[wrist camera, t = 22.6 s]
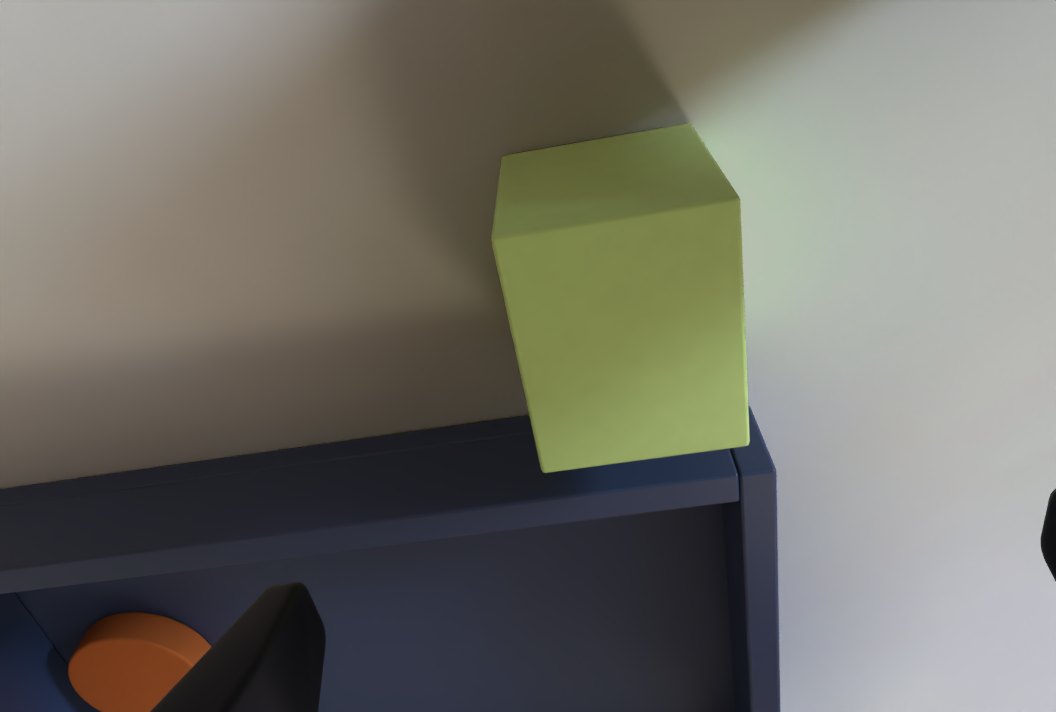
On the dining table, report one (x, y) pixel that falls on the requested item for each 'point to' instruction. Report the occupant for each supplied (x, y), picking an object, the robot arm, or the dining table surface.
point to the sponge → (624, 297)
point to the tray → (423, 571)
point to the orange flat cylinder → (133, 660)
